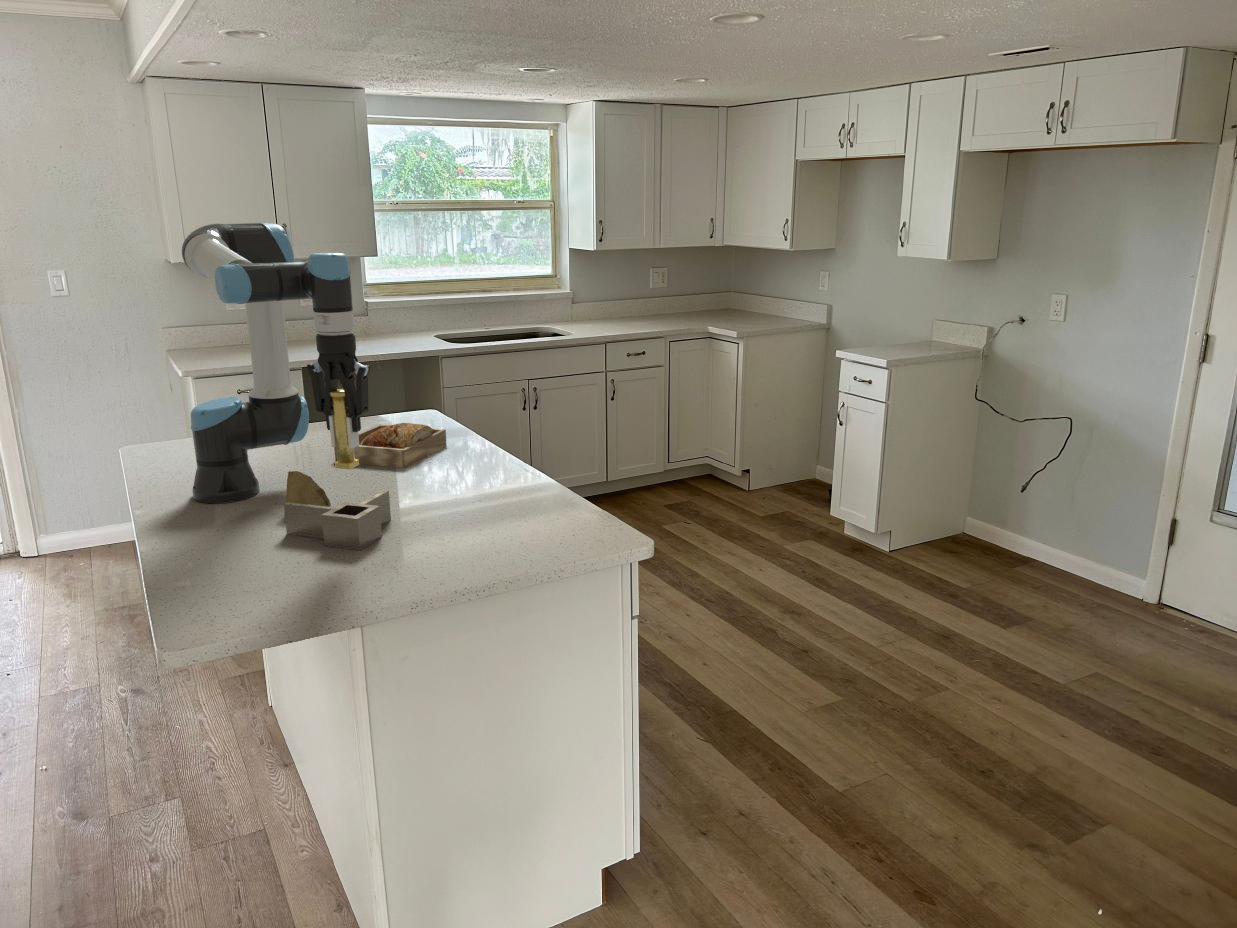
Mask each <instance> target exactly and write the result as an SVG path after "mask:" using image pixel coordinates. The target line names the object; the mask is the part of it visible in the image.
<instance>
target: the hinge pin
mask: <svg viewBox="0 0 1237 928" xmlns="http://www.w3.org/2000/svg"><path fill="white" fill-rule="evenodd" d="M329 392H330V397H332V402H333V412H334V423H335V434H336V444H337V455H338V461H337V462H336V461H335V462H334V469H339V470H340V469H341V470H342V469H343V470H351V469H353V468H355V467H357V466H360V464H359V460H358V459H355V452H354V448H352V449H351V448H349V444H348V433H347V422H346V417H348V416H347V415H349V411H348V407H347V403H346V399H345V392H344V390H343V388H337V389H336V390H333V391H329Z"/></svg>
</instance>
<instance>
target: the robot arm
mask: <svg viewBox="0 0 1237 928" xmlns="http://www.w3.org/2000/svg"><path fill="white" fill-rule="evenodd" d="M181 257H182V260H183V262H184V264H185V265H186V267H187V268H188V269H189V270H190V271H192V272H193V273H194V274H196V275H197V276H199V277H201V278H209V279H211V280H212V281H213V282H214V284H215V290H216V293H217V295H218V297H219V298H218V299H219V300H220V301H221V302H222V303H224V304H238V305H244V304H245V305H244V306H245V315H246V322H247V323H246V325H247V332H248V340H249V351H250V358H251V368H252V377H253V385H254V386H253V388H252V389H251V390H250V391H249V392H248V400H249V401H248V402H243V401H242V400H241V398H239V397H235V396H233V397H232V396H231V397H221V398H215V399H212V400H208V401H205V402H202V403H199V404H198V405H196V406H194V407H193V408H192V410H191V411H190V430H191V432H192V439H193V445H194V446H193V447H194V453H195V460H196V470H195V471H196V472H195V475H194V481H193V486H192V497H193V500H195V501H196V502H200V503H202V504H204V503H205V504H223V503H224V504H225V503H232V502H238V501H242V500H246V499H248V498H251V497H253V496H255V495H257V494H259V492H260V483H259V480H258V479H257V478H256V475H255V473H254V471H253V468H252V465H251V463H250V462H249V461H250V460H249V456H248V454H249V453H248V451H249V450H256V449H262V448H267V447H268V448H269V447H274V446H281V445H285V446H286V445H289V444H294V443H297V442H301V441H302V440H303V439H304V438H305V436H306V435H307V433H308V429H309V423H310V413H309V411H310V410H309V408H308V403H307V400H306V399H305V396H302V395H299V390H298V389H297V388H296V387H295V386H293V385H292V381H291V380H292V379H291V371H290V370H291V368H290V360H289V350H288V341H287V340H288V337H287V331H286V329H287V328H286V319H285V309H284V302H285V301H301V300H302V301H303V300H311V301H312V311H313V319H314V320H313V321H314V322H313V323H314V331H315V332H317V334H316V335H315V342H316V351H317V353H318V358H317V361H315V362H312V363H309V364H307V365H306V369H307V372H308V373H309V375H310V379H311V385H312V393H313V398H314V404H315V405H314V406H315V409H316V410H315V411H316V412H318V413H320V412H321V413H323V414H324V416H325V422H326V429H327V431H329V432H330V434H329V435H330V441H331V442H330V443H331V445H330V446H331V448H334V447H337V444H336V434H335V423H334V412H333V402H332V397H330V392H329V391H333V390H336V389H338V384H340V385H341V386H342V389H343V390H344V392H345V399H346V403H347V407H348V411H349V415H347V416H348V417H346V422H347V433H348V444H349V448H351V449H352V448H355V447H357V446H359V435H358V434H359V432H361V430H362V426H361V425H362V424H361V415H362V414H365V413H368V412H369V375H370V371H371V366H370V365H369V364H366V365H364V364H362V363H360V362H359V360H358V357H357V356H356V351H357V341H356V334H354V332H353V331H354V330H355V319H354V308H353V295H352V281H351V273H352V271H351V269H350V264H349V258H348V256H347V255H346V254H345V253H343V252H342V253H341V252H319V253H317V252H315V253H312V254H310V255H309V256H308V259H307V260H300V261H295V254H294V250H293V245H292V243H291V240H290V238H289V236H288V234H287V232H286V230H285V229H284V228H283V227H282V226H281V225H279V224H277V223H267V222H252V223H251V222H249V223H247V222H245V223H212V224H207V225H203V226H201V227H197V228H196V229H195V230H193V231H192V232H190V233H189V234H188V235H187V237H186V238H185V239H184V240H183V243H182V245H181ZM323 372H324V373H323ZM354 372H355V373H354ZM355 375H356V376H355ZM338 382H339V383H338Z"/></svg>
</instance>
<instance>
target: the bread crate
mask: <svg viewBox="0 0 1237 928" xmlns="http://www.w3.org/2000/svg"><path fill="white" fill-rule="evenodd" d="M390 425H391V424H377V425H375V426H373V427H371V428H368V429H366V430H363V431H360V432H358V435H359V446H357V447H355V448H354V452H355V459H358V460H359V465H372V466H378V467H379V466H381V467H393V468H401V469H407V468H409V467H411V466H412V465H414V464H416V463H418V462H419V461H421V460H423V459H425V458H427V457H429V456H431V455H433V454H434V453H436V452H438V451H440V450H442V449H443V448H445V447H447V445H448V444H447V432H446V431H447V430H446V429H442V428H434V427H433V428H432V427H431V428H432V431H433V434H432V435H430V436H428V437H426V438H424V439H422V440H420V441H418V442H416V443H414V444H412V445H410V446H408V447H406V448H404V449H397V448H385V447H373V446H362V445H360V444H361V442H362V440H364V439H365V438H366V437H367V436H368V435H369V434H371V433H373V432H375V431H377V430H379V429H381V428H383V427H386V426H390ZM333 448H334V458H335V459H334V461H335V462H337V461H338V455H337V447H333Z"/></svg>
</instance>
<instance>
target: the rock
mask: <svg viewBox="0 0 1237 928" xmlns="http://www.w3.org/2000/svg"><path fill="white" fill-rule="evenodd" d="M287 502H289V503H298V504H307V505H316V506H326V507H332V505H331V501H330V499H329V497H328V495H327V493H326V491H325V490H324V489H323V488H322V487H320V486H319V484H318V483H317V482H316V481H315V480H314V479H313V478H312V477H311V476H309V475H308V474H305V473H302V472H301V471H298V470H293V471H291V470H289V471H287V480H286V495H285V503H287Z"/></svg>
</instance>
